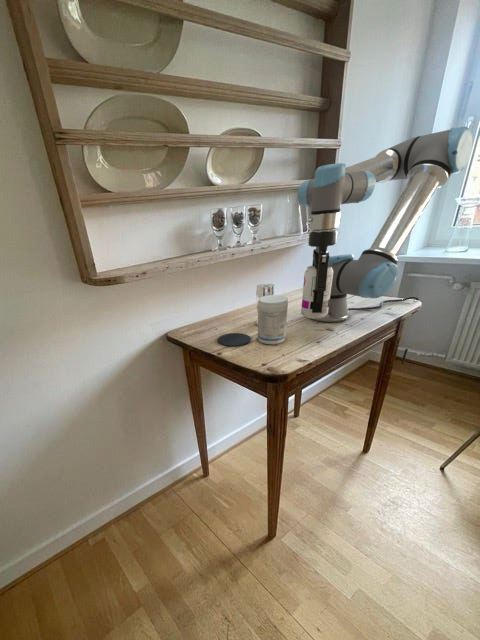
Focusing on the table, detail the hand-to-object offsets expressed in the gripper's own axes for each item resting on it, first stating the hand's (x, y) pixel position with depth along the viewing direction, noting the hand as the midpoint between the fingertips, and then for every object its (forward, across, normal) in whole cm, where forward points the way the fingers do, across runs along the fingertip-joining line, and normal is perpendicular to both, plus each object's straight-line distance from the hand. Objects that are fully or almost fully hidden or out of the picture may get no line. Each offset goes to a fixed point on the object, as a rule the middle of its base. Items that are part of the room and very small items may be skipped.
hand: (314, 308), depth 97 cm
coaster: (+11, 0, -26) cm, 29 cm away
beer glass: (+11, -17, -16) cm, 26 cm away
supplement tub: (+11, 0, -14) cm, 17 cm away
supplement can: (+2, 0, 0) cm, 2 cm away
